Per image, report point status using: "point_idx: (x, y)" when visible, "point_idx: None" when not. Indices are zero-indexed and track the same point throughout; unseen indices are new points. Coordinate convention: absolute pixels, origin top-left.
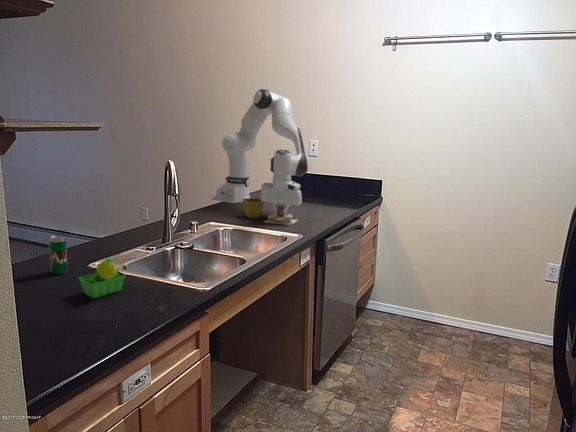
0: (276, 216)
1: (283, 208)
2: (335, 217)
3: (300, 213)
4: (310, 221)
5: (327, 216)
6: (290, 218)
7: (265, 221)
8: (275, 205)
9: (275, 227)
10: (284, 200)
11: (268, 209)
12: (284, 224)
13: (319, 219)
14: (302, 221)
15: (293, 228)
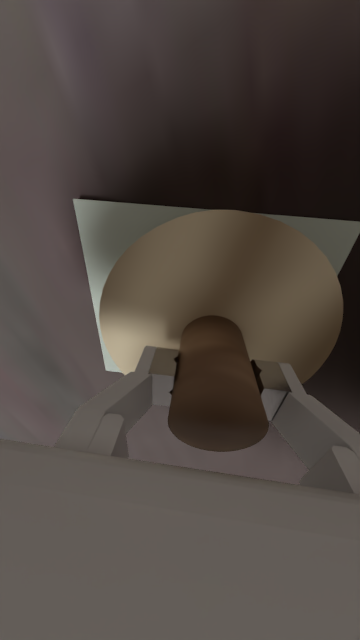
0: (242, 295)
1: (172, 396)
2: (13, 440)
3: (156, 460)
4: (49, 371)
5: (45, 445)
6: (103, 300)
7: (339, 248)
8: (300, 453)
9: (205, 31)
10: (62, 609)
11: (299, 483)
12: (138, 204)
13: (40, 408)
14: (84, 360)
15: (9, 102)
